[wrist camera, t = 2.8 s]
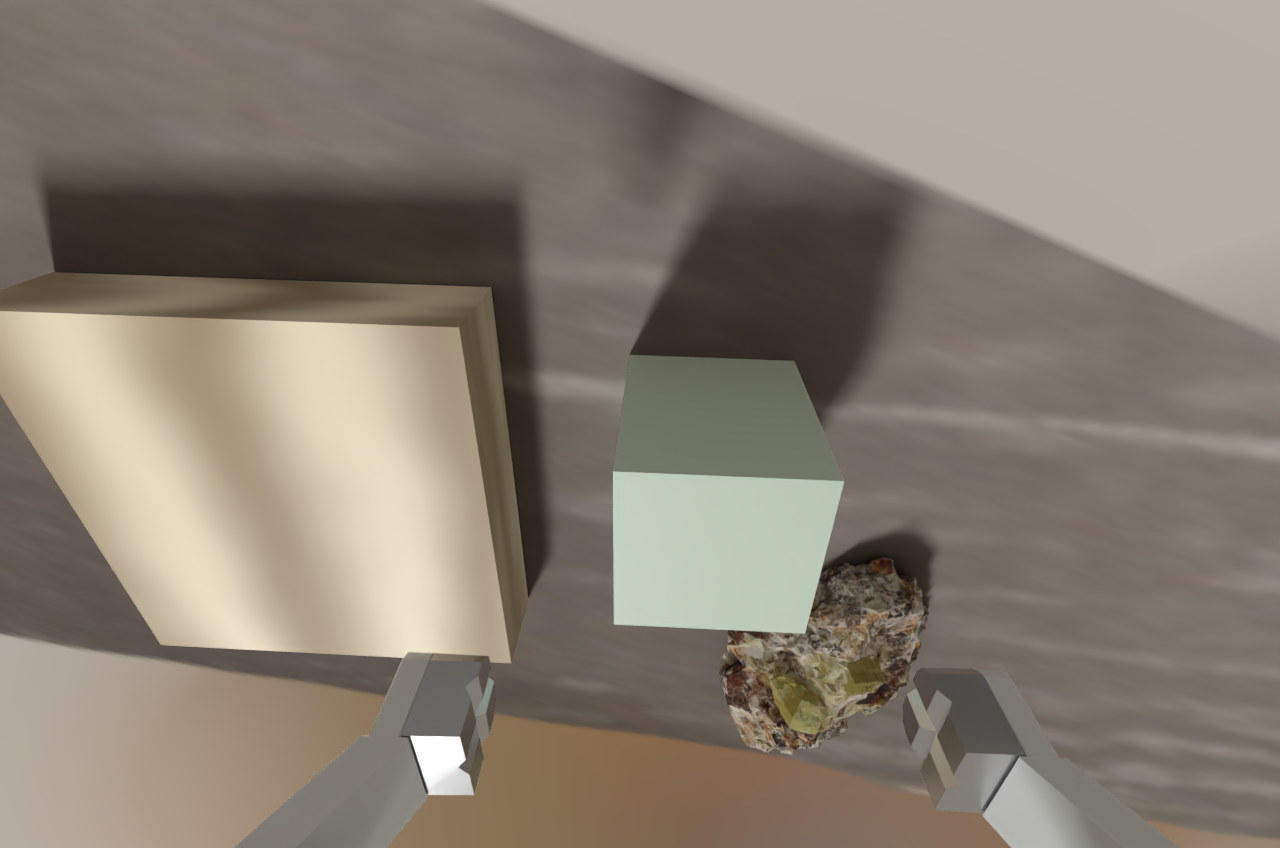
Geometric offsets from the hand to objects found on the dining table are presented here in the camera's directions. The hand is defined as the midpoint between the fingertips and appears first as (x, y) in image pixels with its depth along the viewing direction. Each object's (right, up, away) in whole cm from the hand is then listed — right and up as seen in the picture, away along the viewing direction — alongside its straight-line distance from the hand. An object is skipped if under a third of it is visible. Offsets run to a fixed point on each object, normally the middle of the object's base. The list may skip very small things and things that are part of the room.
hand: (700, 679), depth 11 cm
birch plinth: (-12, +4, +9) cm, 16 cm away
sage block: (+1, +5, +8) cm, 9 cm away
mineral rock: (+6, -4, +14) cm, 16 cm away
